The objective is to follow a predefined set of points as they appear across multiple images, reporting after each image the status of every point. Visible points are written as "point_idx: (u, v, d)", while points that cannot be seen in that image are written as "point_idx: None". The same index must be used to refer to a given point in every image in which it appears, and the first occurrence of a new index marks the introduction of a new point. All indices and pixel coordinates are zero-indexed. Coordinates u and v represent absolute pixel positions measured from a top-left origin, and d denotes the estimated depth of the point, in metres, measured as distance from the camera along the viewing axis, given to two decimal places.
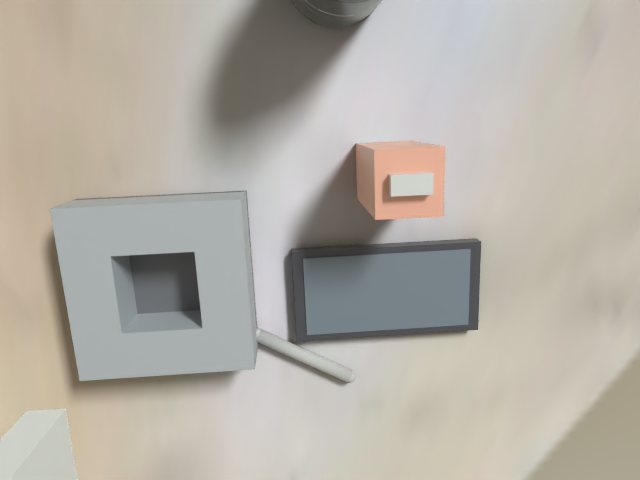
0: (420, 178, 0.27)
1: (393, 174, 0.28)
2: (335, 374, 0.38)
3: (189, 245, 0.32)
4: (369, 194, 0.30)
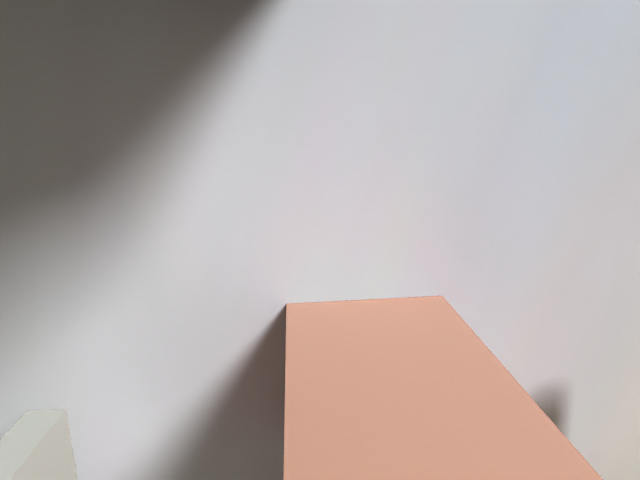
0: None
1: None
2: None
3: None
4: None
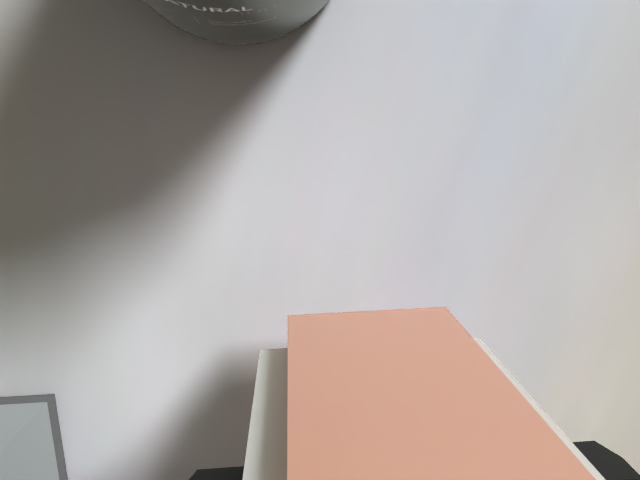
0: None
1: None
2: None
3: None
4: None
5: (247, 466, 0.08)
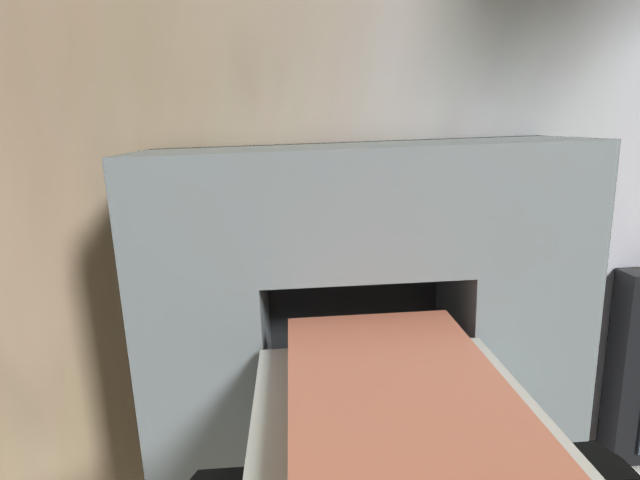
0: None
1: None
2: None
3: (467, 263, 0.12)
4: None
5: (247, 466, 0.08)
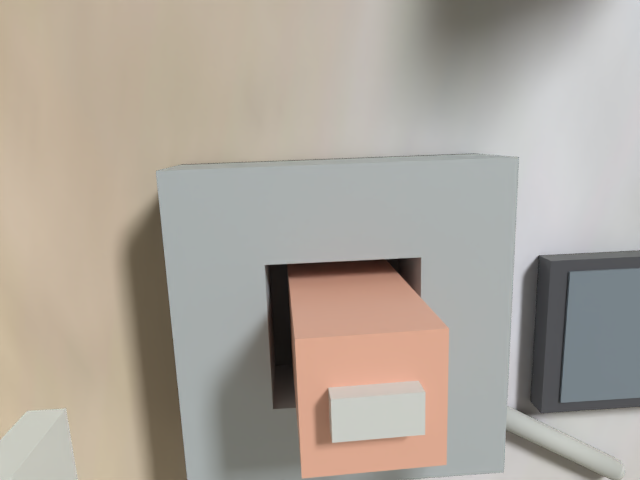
0: (398, 403, 0.12)
1: (337, 393, 0.13)
2: (597, 467, 0.23)
3: (413, 245, 0.17)
4: (296, 400, 0.15)
5: None
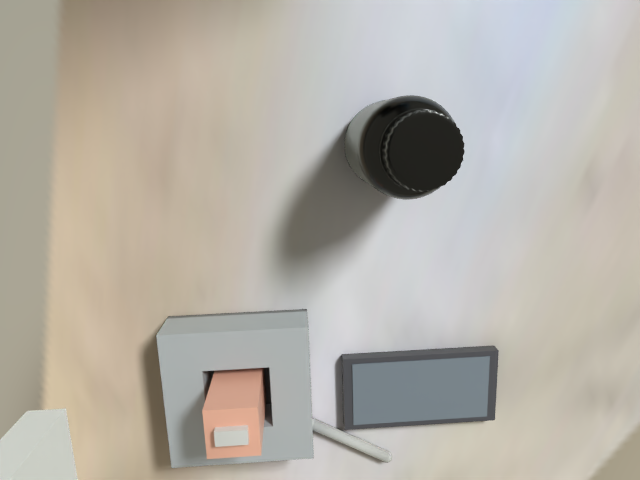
0: (237, 433, 0.35)
1: (217, 429, 0.36)
2: (375, 456, 0.46)
3: (265, 362, 0.40)
4: None
5: None
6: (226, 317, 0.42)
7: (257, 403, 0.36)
